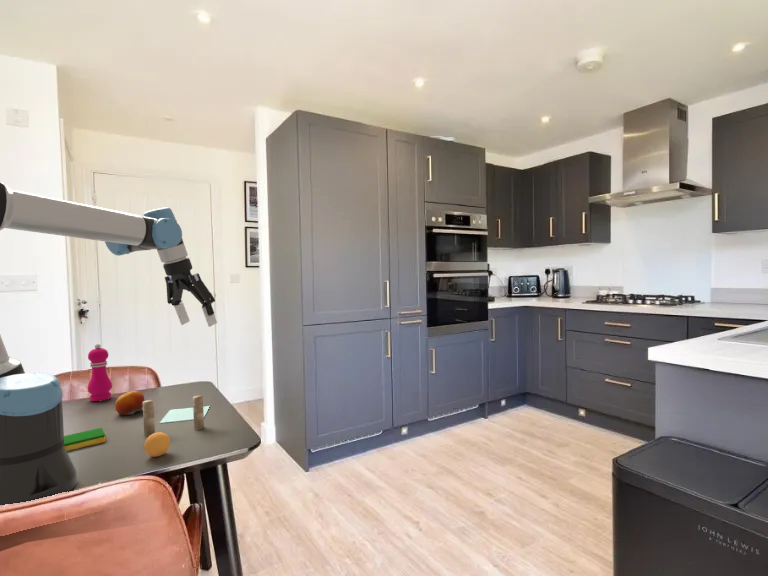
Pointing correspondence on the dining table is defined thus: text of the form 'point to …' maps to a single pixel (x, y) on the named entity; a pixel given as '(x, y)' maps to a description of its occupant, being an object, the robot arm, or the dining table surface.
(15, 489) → the robot arm
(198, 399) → the right post
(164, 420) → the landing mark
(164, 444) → the ball
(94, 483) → the dining table surface
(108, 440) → the dining table surface
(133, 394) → the fruit
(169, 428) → the dining table surface
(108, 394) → the pepper mill
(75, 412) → the dining table surface
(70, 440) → the dish sponge
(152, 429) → the left post
